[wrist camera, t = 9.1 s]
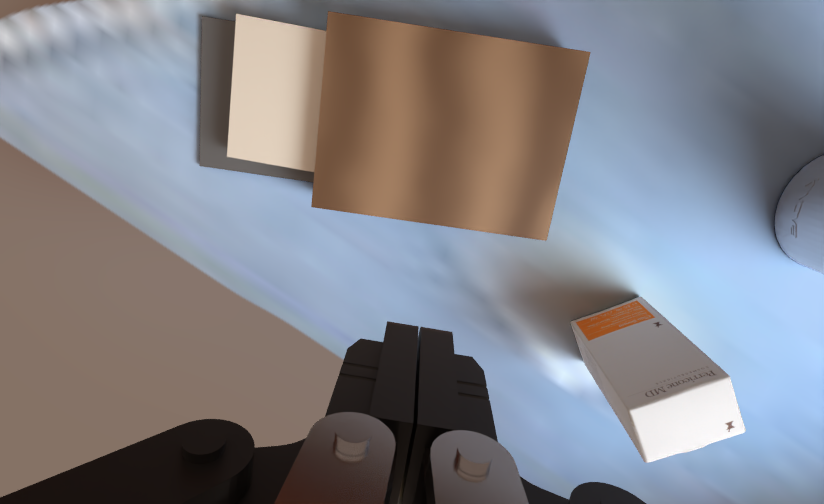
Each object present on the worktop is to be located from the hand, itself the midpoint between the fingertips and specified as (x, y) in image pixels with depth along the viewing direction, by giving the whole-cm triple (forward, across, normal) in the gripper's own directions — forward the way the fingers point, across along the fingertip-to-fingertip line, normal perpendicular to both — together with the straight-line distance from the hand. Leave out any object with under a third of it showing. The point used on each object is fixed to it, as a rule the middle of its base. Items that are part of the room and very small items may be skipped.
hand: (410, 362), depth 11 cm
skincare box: (+26, -17, +9) cm, 33 cm away
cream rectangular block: (+25, +11, -4) cm, 28 cm away
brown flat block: (+26, -1, -4) cm, 26 cm away
